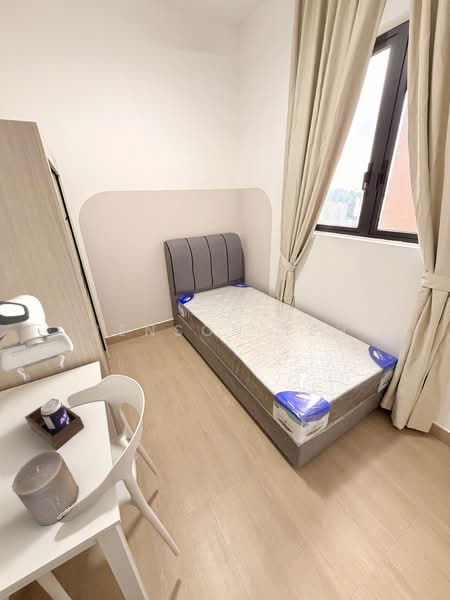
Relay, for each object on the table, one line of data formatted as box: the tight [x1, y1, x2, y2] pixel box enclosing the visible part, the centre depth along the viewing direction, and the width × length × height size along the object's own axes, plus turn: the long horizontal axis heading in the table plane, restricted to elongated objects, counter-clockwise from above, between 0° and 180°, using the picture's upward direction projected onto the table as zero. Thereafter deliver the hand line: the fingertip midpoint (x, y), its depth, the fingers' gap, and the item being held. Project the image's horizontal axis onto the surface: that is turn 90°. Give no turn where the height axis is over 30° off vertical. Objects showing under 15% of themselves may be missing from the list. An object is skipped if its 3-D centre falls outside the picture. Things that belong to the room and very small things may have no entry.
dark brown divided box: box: [24, 398, 85, 451], centre depth 81 cm, size 17×9×5 cm, turn 60°
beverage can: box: [40, 398, 70, 436], centre depth 77 cm, size 6×6×12 cm
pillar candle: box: [11, 450, 80, 527], centre depth 58 cm, size 10×10×15 cm
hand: (44, 373), depth 81 cm, fingers open, 8 cm apart
